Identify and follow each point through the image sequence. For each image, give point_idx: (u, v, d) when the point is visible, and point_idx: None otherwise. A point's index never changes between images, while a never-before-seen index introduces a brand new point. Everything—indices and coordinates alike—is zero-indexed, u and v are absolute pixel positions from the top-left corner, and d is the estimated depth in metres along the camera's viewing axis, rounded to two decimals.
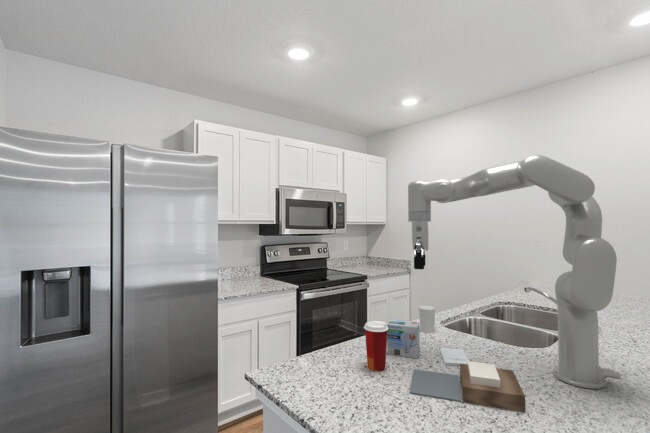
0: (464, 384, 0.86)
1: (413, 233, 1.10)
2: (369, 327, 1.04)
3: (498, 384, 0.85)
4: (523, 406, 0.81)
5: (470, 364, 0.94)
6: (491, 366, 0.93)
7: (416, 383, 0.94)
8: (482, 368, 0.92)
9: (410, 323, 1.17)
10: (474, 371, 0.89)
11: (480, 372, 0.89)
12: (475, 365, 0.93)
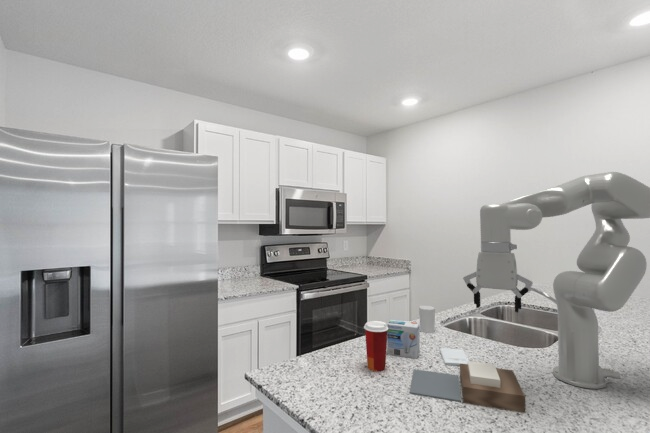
0: (464, 384, 0.86)
1: (514, 269, 0.89)
2: (369, 327, 1.04)
3: (498, 384, 0.85)
4: (523, 406, 0.81)
5: (470, 364, 0.94)
6: (491, 366, 0.93)
7: (416, 383, 0.94)
8: (482, 368, 0.92)
9: (410, 323, 1.17)
10: (474, 371, 0.89)
11: (480, 372, 0.89)
12: (475, 365, 0.93)
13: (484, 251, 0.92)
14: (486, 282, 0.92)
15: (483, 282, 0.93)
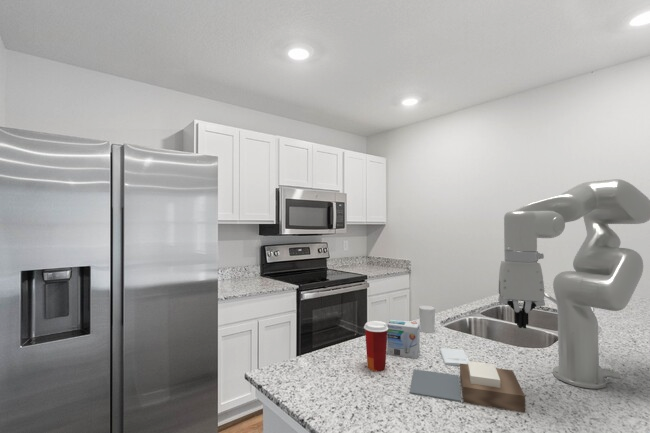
0: (464, 384, 0.86)
1: (542, 279, 0.85)
2: (369, 327, 1.04)
3: (498, 384, 0.85)
4: (523, 406, 0.81)
5: (470, 364, 0.94)
6: (491, 366, 0.93)
7: (416, 383, 0.94)
8: (482, 368, 0.92)
9: (410, 323, 1.17)
10: (474, 371, 0.89)
11: (480, 372, 0.89)
12: (475, 365, 0.93)
13: (512, 261, 0.86)
14: (513, 294, 0.86)
15: (509, 294, 0.87)
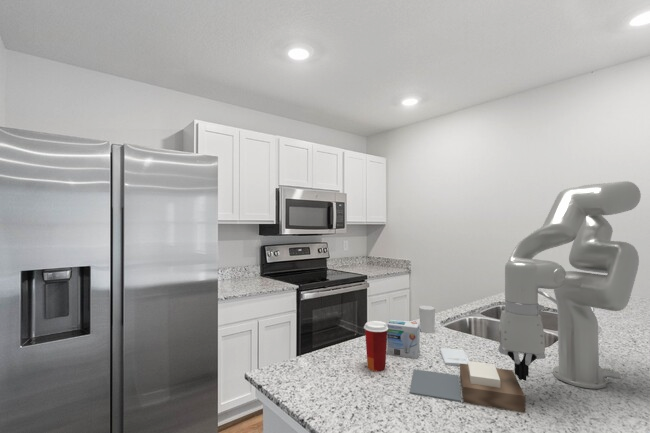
0: (464, 384, 0.86)
1: (543, 332, 0.84)
2: (369, 327, 1.04)
3: (498, 384, 0.85)
4: (523, 406, 0.81)
5: (470, 364, 0.94)
6: (491, 366, 0.93)
7: (416, 383, 0.94)
8: (482, 368, 0.92)
9: (410, 323, 1.17)
10: (474, 371, 0.89)
11: (480, 372, 0.89)
12: (475, 365, 0.93)
13: (512, 313, 0.86)
14: (513, 346, 0.86)
15: (509, 345, 0.86)
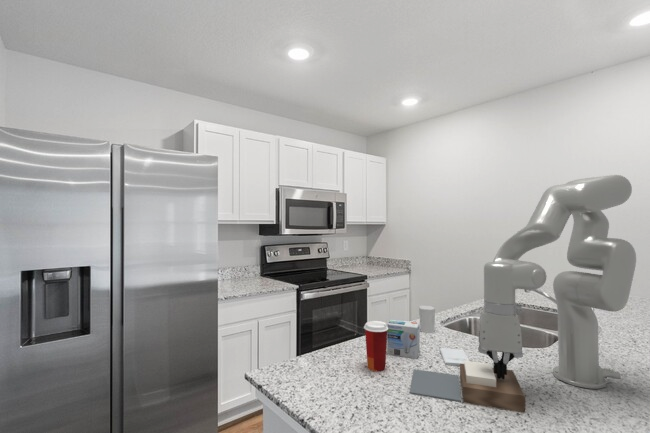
0: (464, 384, 0.86)
1: (520, 332, 0.86)
2: (369, 327, 1.04)
3: (494, 384, 0.85)
4: (523, 406, 0.81)
5: (466, 363, 0.94)
6: (487, 365, 0.93)
7: (416, 383, 0.94)
8: (478, 367, 0.92)
9: (410, 323, 1.17)
10: (470, 371, 0.90)
11: (476, 372, 0.89)
12: (471, 364, 0.94)
13: (490, 313, 0.87)
14: (491, 345, 0.88)
15: (488, 345, 0.88)
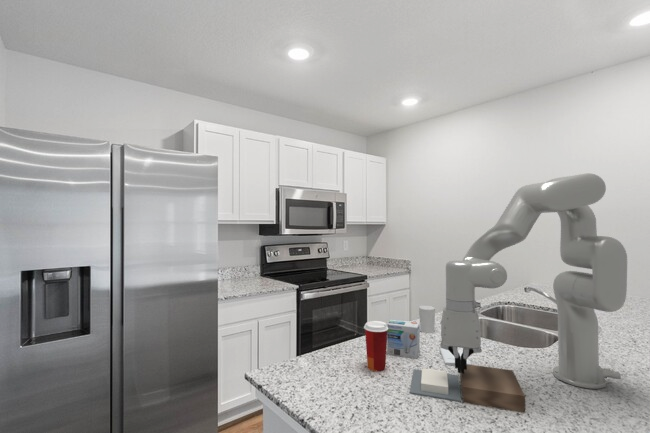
0: (464, 384, 0.86)
1: (479, 328, 0.89)
2: (369, 327, 1.04)
3: (422, 386, 0.90)
4: (523, 406, 0.81)
5: None
6: None
7: (416, 383, 0.94)
8: None
9: (410, 323, 1.17)
10: None
11: None
12: None
13: (451, 310, 0.91)
14: (452, 341, 0.91)
15: (449, 341, 0.91)
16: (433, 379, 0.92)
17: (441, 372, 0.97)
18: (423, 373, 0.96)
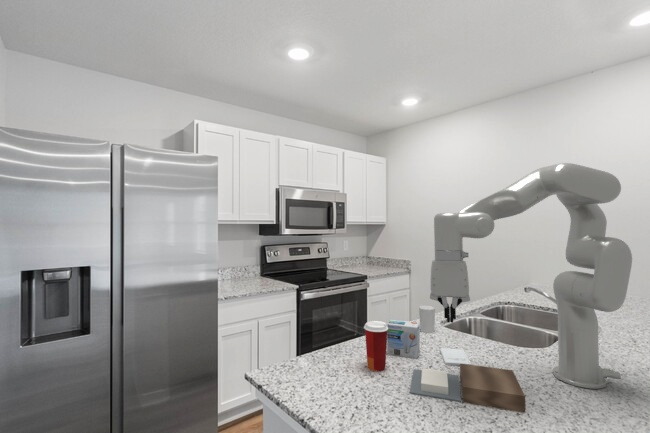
0: (464, 384, 0.86)
1: (467, 277, 0.91)
2: (369, 327, 1.04)
3: (422, 386, 0.90)
4: (523, 406, 0.81)
5: None
6: None
7: (416, 383, 0.94)
8: None
9: (410, 323, 1.17)
10: None
11: None
12: None
13: (439, 260, 0.92)
14: (441, 291, 0.92)
15: (438, 291, 0.93)
16: (433, 379, 0.92)
17: (441, 372, 0.97)
18: (423, 373, 0.96)
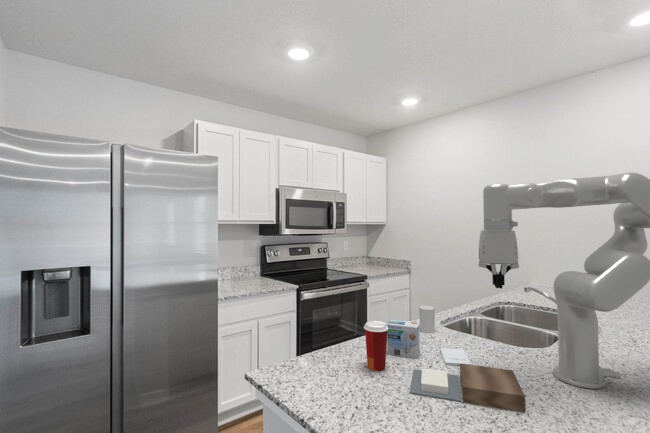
0: (464, 384, 0.86)
1: (516, 244, 0.95)
2: (369, 327, 1.04)
3: (422, 386, 0.90)
4: (523, 406, 0.81)
5: None
6: None
7: (416, 383, 0.94)
8: None
9: (410, 323, 1.17)
10: None
11: None
12: None
13: (489, 229, 0.97)
14: (490, 258, 0.97)
15: (487, 258, 0.97)
16: (433, 379, 0.92)
17: (441, 372, 0.97)
18: (423, 373, 0.96)
